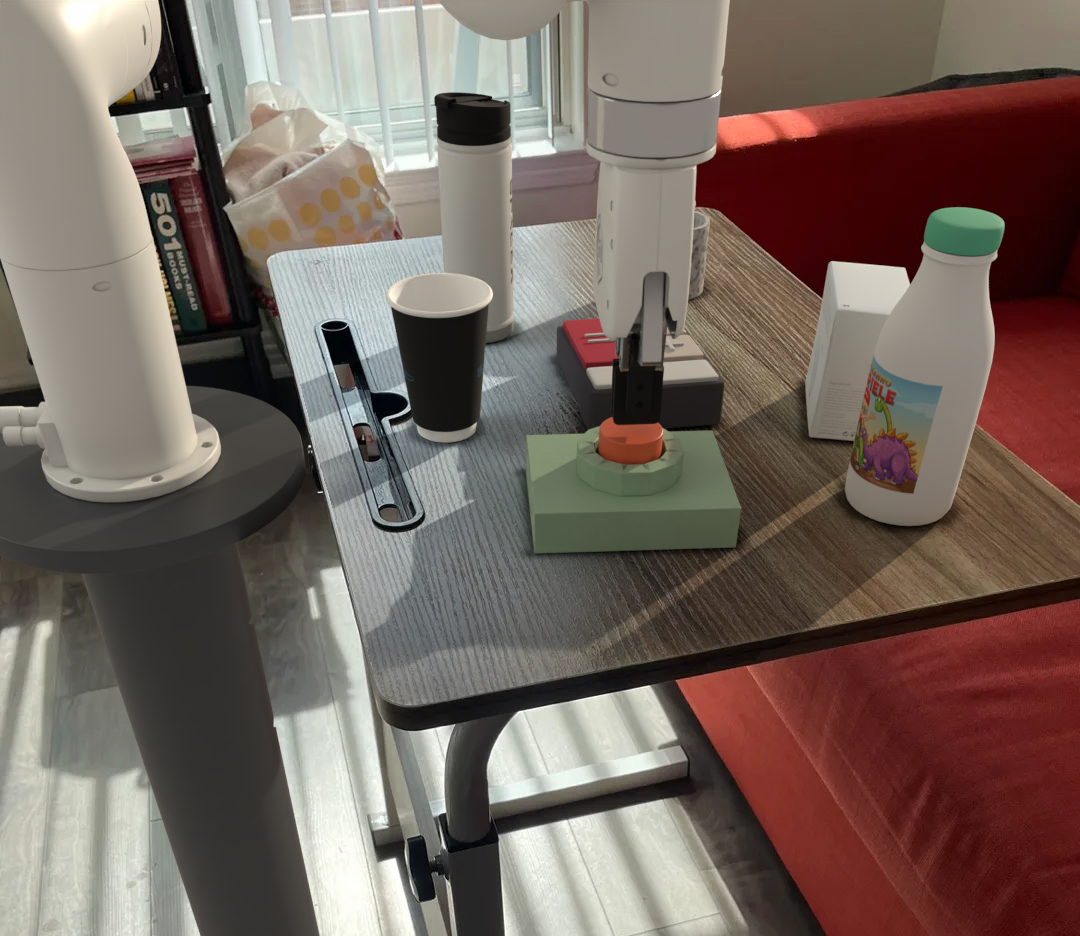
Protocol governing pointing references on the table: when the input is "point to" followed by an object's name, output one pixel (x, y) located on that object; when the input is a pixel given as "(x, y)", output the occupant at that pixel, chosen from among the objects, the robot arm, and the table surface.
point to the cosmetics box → (848, 343)
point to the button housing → (629, 496)
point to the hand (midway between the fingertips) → (635, 418)
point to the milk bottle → (928, 376)
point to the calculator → (686, 377)
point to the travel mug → (478, 197)
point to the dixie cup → (442, 350)
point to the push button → (630, 442)
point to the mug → (698, 254)
